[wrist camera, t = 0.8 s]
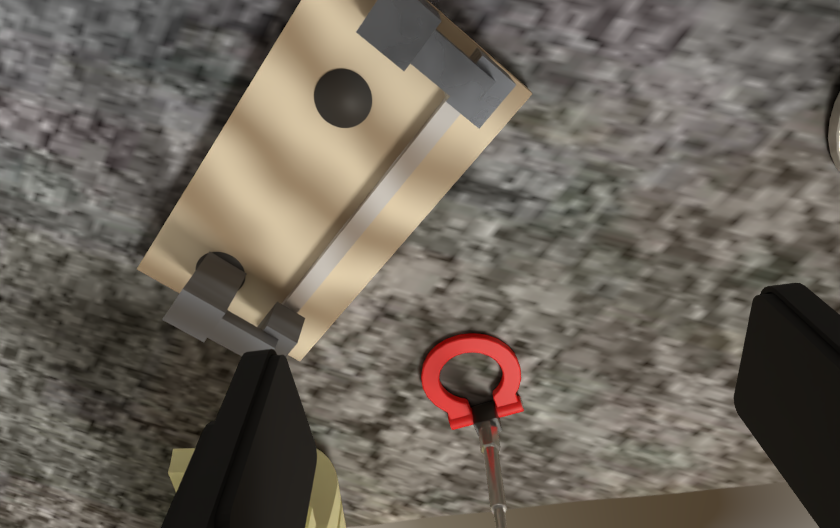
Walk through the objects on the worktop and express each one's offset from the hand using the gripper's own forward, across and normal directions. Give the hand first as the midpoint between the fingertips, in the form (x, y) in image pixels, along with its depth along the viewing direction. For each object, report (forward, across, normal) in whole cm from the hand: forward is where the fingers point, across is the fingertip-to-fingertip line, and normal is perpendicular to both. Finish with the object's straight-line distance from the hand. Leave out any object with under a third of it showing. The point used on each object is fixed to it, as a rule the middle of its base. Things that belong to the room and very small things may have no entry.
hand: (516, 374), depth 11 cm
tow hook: (+28, 0, +24) cm, 37 cm away
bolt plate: (+28, +9, +5) cm, 29 cm away
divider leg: (+26, 0, -3) cm, 26 cm away
